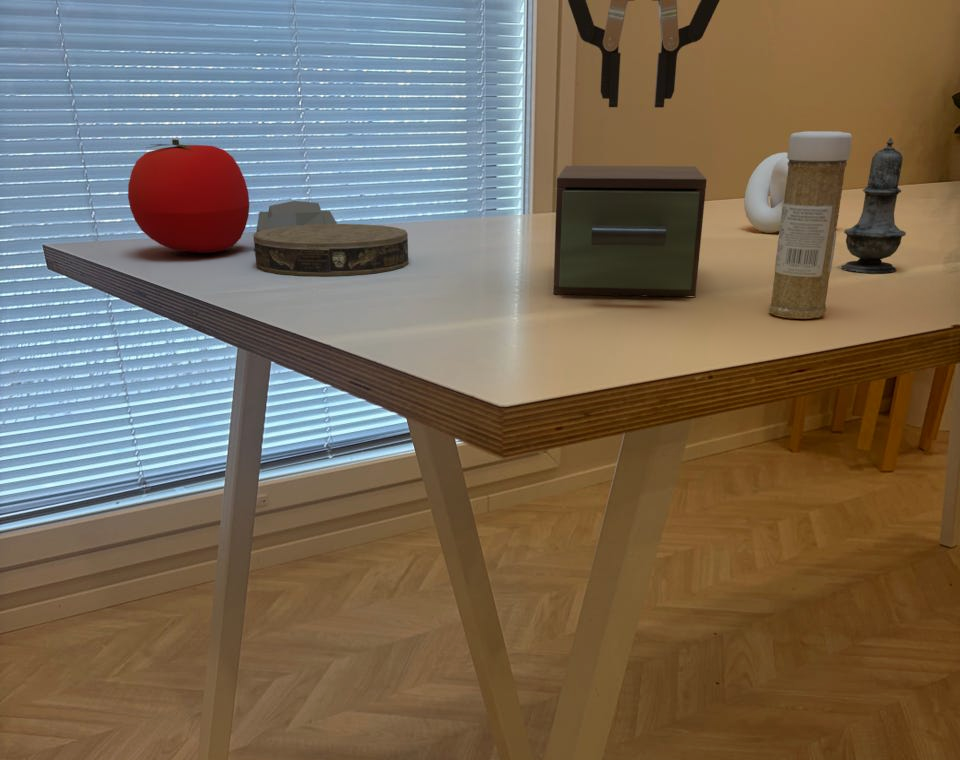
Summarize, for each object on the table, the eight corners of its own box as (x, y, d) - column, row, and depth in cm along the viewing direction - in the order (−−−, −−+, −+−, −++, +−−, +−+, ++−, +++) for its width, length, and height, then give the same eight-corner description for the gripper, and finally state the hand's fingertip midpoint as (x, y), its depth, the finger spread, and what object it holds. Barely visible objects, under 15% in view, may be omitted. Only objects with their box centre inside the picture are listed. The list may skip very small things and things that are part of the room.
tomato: (280, 252, 115) (270, 138, 110) (173, 266, 107) (156, 143, 101) (218, 241, 123) (205, 135, 117) (112, 254, 114) (94, 139, 109)
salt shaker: (872, 275, 101) (896, 140, 95) (825, 267, 105) (845, 137, 100) (911, 270, 104) (936, 138, 98) (864, 262, 108) (885, 136, 102)
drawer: (693, 300, 85) (703, 198, 81) (556, 297, 86) (559, 196, 82) (682, 265, 101) (690, 179, 97) (566, 263, 102) (569, 178, 98)
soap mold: (254, 250, 116) (250, 217, 114) (256, 228, 133) (253, 199, 132) (345, 248, 118) (343, 215, 116) (336, 227, 135) (334, 198, 133)
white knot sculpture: (730, 234, 128) (738, 155, 124) (751, 224, 138) (760, 150, 133) (823, 239, 124) (835, 157, 120) (838, 228, 133) (850, 152, 129)
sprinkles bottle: (834, 314, 84) (863, 131, 78) (810, 322, 81) (838, 133, 75) (782, 307, 87) (806, 130, 80) (757, 315, 84) (779, 132, 77)
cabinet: (695, 297, 91) (706, 179, 86) (553, 294, 92) (556, 177, 88) (686, 271, 104) (696, 166, 99) (561, 268, 105) (565, 165, 100)
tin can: (247, 256, 112) (244, 227, 111) (388, 249, 117) (387, 221, 115) (267, 279, 99) (263, 246, 98) (425, 271, 103) (425, 239, 102)
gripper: (551, -177, 70) (544, 108, 78) (761, -183, 68) (731, 108, 77) (557, -155, 76) (550, 106, 85) (749, -160, 75) (723, 106, 83)
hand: (636, 105), depth 81 cm, fingers open, 3 cm apart
